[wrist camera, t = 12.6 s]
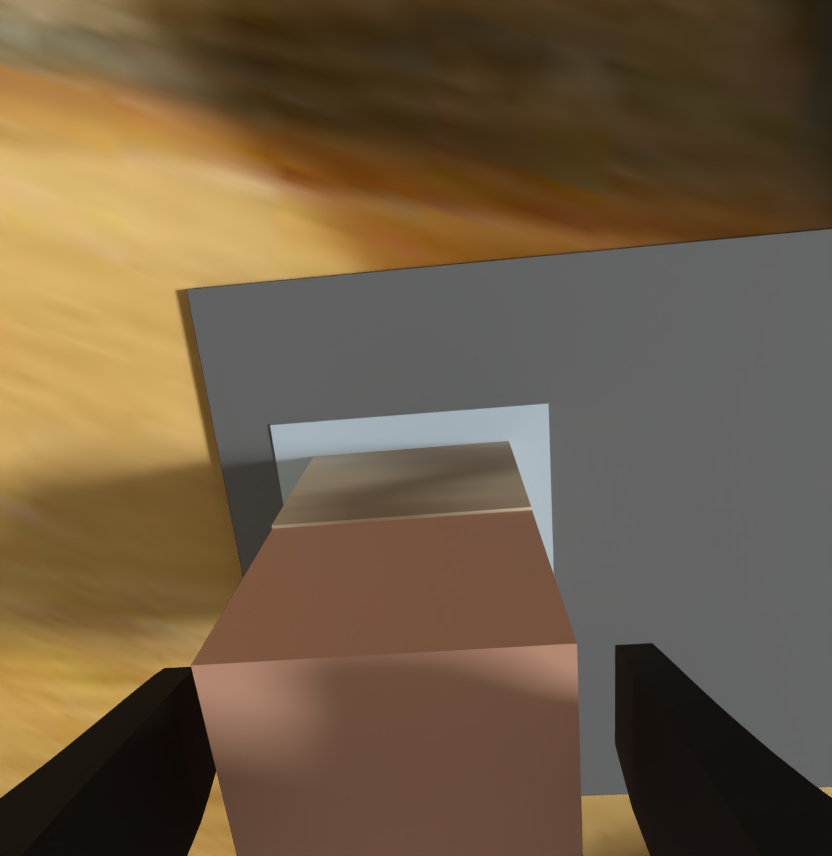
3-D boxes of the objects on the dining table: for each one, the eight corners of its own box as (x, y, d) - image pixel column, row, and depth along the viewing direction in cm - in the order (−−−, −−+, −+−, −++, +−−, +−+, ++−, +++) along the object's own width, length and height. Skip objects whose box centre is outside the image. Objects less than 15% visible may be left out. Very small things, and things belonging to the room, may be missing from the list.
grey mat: (1056, 207, 14) (1078, 206, 13) (944, 770, 18) (958, 785, 18) (193, 288, 15) (185, 290, 14) (291, 794, 20) (287, 808, 19)
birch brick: (508, 441, 15) (531, 507, 11) (518, 613, 17) (541, 723, 13) (313, 456, 16) (271, 526, 12) (339, 624, 17) (309, 734, 13)
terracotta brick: (532, 509, 11) (576, 643, 8) (542, 725, 13) (584, 929, 9) (272, 528, 12) (190, 665, 8) (310, 736, 13) (256, 938, 9)
